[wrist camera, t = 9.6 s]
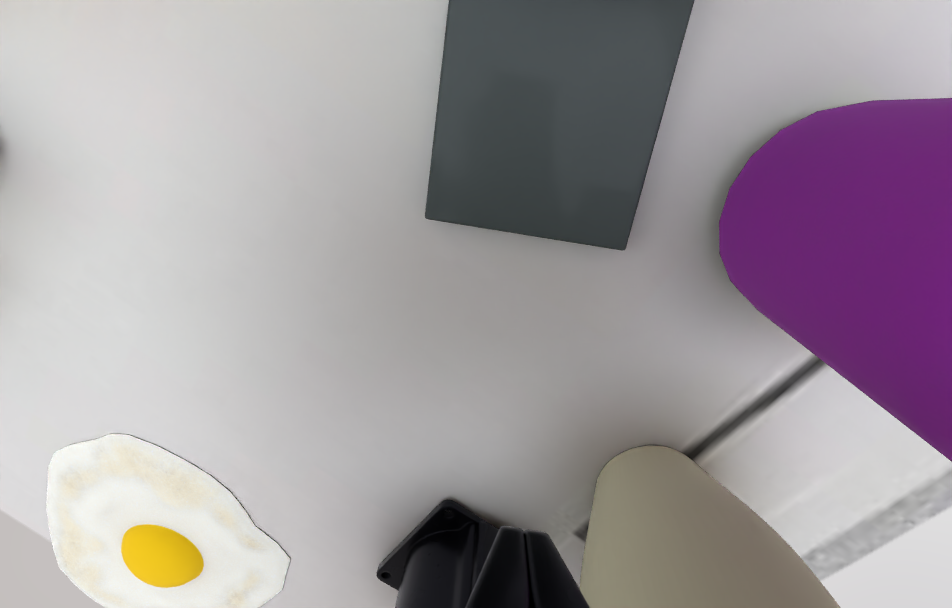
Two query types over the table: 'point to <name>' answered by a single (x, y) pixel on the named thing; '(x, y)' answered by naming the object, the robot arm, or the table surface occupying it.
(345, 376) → the table surface
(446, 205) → the chalkboard
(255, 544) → the cracked egg
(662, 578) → the mug
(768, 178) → the beverage can
